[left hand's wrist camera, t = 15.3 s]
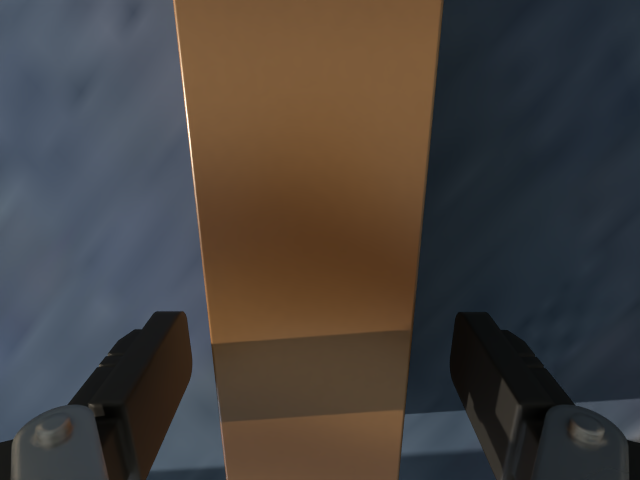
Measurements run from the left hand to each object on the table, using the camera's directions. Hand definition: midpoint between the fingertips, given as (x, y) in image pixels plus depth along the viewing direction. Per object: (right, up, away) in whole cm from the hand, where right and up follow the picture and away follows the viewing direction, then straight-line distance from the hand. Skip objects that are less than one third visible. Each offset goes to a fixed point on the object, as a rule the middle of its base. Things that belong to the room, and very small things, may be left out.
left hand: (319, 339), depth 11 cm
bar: (0, +23, -4) cm, 23 cm away
